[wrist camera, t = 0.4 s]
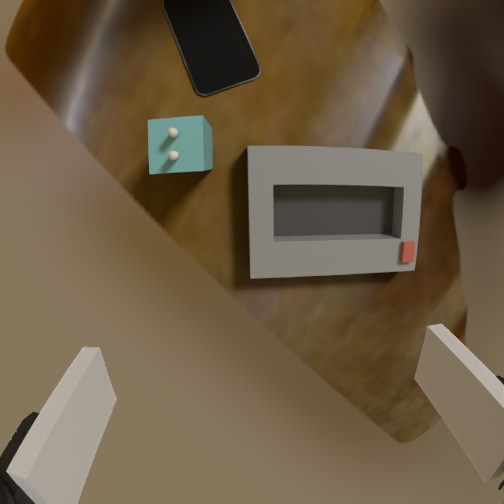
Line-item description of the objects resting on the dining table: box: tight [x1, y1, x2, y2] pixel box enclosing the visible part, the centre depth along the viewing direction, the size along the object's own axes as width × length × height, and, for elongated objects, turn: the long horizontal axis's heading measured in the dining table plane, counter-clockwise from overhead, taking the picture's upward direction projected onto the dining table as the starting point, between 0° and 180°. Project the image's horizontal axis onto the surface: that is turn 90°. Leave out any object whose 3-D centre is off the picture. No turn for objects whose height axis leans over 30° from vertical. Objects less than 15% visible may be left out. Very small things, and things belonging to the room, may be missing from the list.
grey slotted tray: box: [247, 146, 422, 279], centre depth 35 cm, size 14×20×3 cm
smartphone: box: [162, 0, 261, 96], centre depth 30 cm, size 8×1×15 cm
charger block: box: [148, 115, 213, 174], centre depth 28 cm, size 4×4×11 cm
